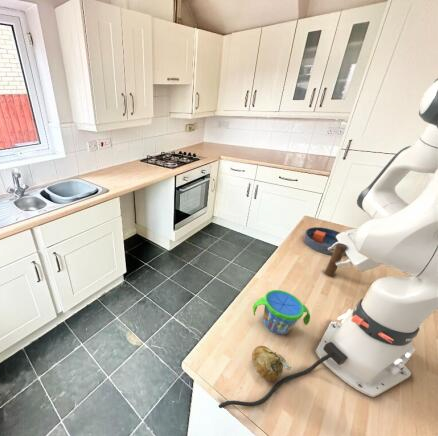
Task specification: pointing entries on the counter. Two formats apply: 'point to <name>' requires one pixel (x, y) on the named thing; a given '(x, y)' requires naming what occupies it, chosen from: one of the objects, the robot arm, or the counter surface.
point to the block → (318, 236)
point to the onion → (268, 363)
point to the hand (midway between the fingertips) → (332, 257)
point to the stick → (335, 259)
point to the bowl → (326, 243)
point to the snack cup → (281, 311)
